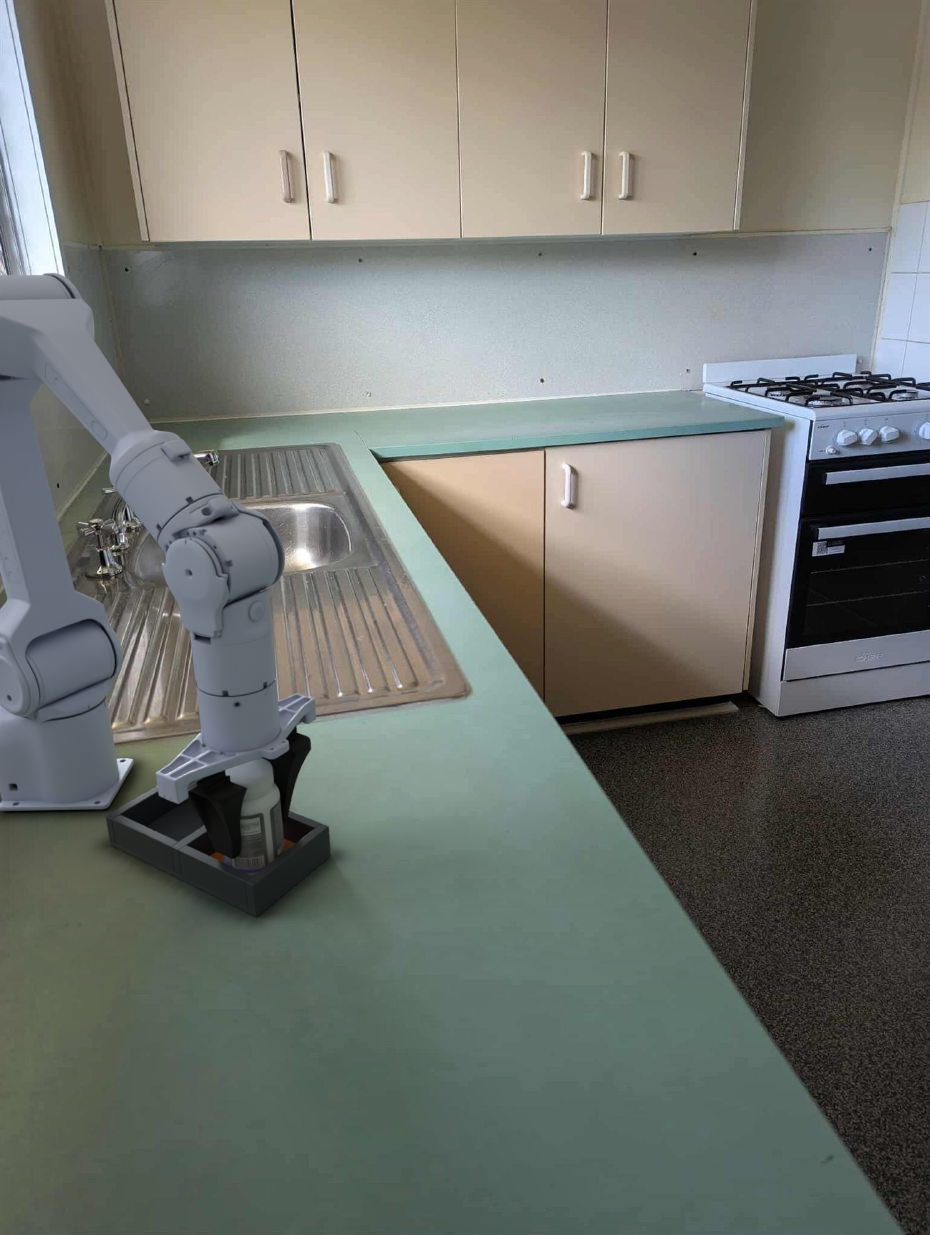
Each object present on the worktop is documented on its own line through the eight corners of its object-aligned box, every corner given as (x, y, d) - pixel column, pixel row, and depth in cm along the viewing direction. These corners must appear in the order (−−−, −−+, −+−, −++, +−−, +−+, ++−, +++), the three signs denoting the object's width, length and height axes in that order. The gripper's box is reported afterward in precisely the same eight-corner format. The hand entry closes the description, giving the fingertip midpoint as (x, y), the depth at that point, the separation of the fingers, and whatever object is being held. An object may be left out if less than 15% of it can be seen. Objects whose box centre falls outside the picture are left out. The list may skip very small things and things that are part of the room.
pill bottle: (260, 835, 73) (251, 747, 70) (297, 857, 70) (290, 767, 67) (211, 862, 69) (201, 771, 66) (249, 887, 67) (239, 793, 64)
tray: (110, 845, 72) (105, 815, 71) (190, 796, 79) (186, 768, 78) (256, 917, 65) (253, 885, 63) (330, 856, 71) (329, 826, 70)
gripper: (199, 735, 56) (219, 906, 61) (342, 657, 68) (349, 806, 73) (126, 708, 60) (151, 871, 65) (274, 638, 71) (285, 781, 76)
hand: (251, 835), depth 69 cm, fingers closed on pill bottle, 5 cm apart
